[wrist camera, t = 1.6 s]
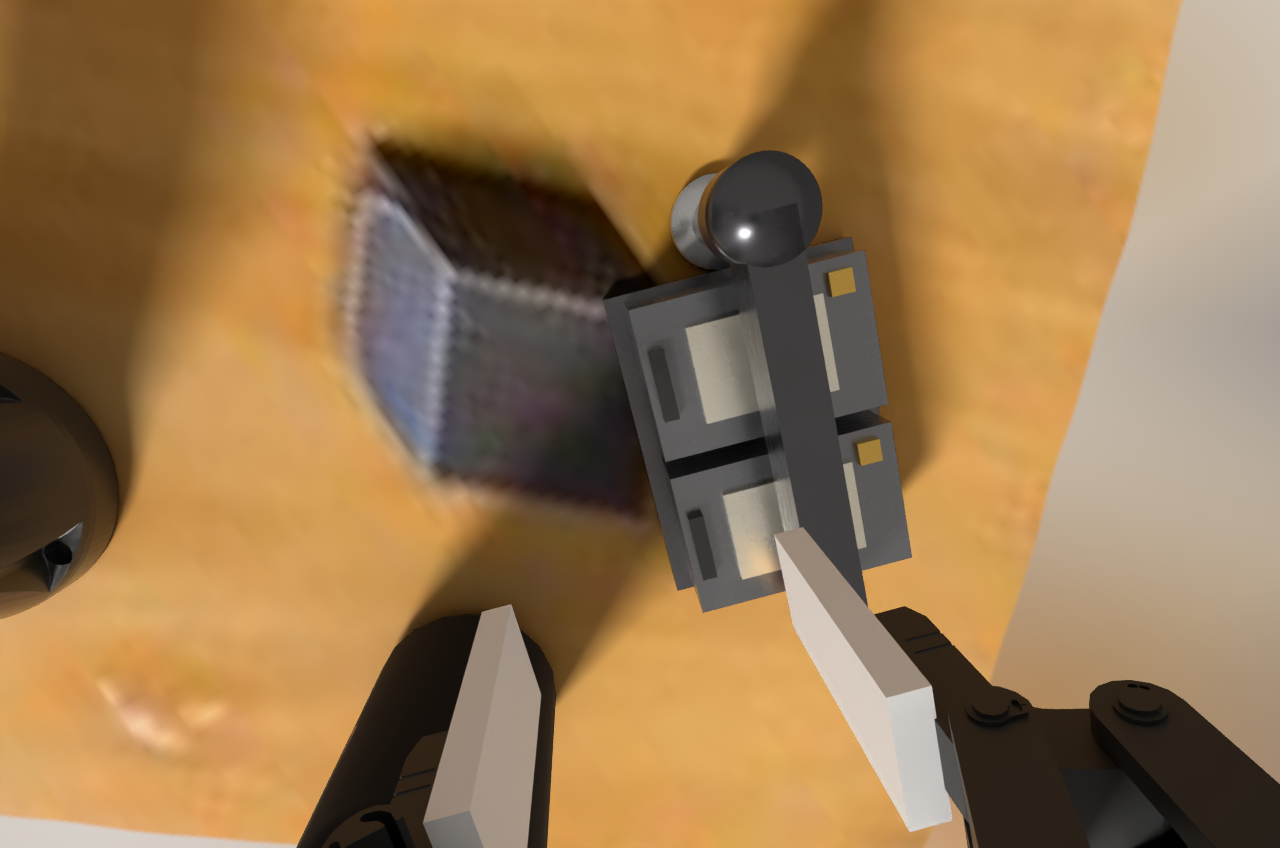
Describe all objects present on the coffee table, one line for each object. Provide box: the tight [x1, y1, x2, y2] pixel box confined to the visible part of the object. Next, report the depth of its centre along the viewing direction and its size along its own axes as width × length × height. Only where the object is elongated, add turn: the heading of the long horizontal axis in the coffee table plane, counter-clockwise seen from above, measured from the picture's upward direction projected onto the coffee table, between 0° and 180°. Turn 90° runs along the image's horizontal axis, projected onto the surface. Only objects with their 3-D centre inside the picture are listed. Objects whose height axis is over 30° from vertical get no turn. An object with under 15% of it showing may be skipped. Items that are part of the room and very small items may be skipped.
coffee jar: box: [297, 614, 556, 848], centre depth 34 cm, size 11×11×18 cm
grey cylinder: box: [670, 173, 730, 270], centre depth 34 cm, size 5×5×7 cm
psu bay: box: [603, 237, 912, 613], centre depth 38 cm, size 14×18×6 cm
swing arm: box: [698, 151, 868, 607], centre depth 31 cm, size 24×4×4 cm, turn 13°
